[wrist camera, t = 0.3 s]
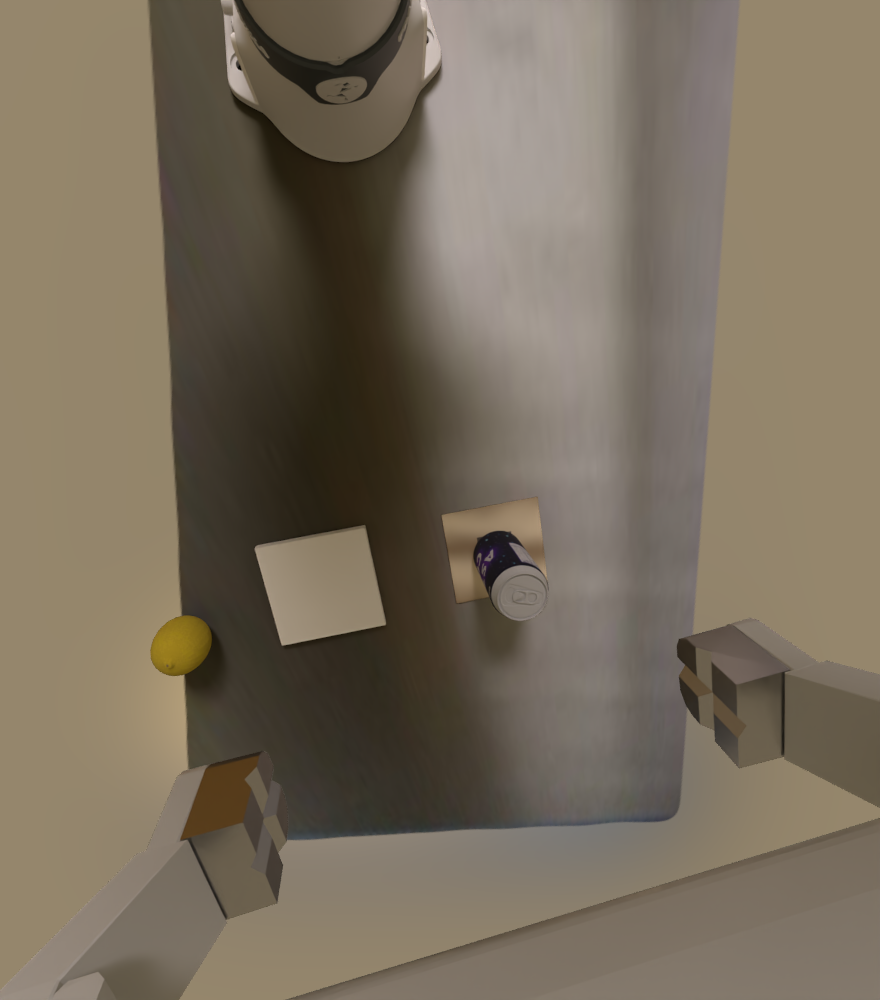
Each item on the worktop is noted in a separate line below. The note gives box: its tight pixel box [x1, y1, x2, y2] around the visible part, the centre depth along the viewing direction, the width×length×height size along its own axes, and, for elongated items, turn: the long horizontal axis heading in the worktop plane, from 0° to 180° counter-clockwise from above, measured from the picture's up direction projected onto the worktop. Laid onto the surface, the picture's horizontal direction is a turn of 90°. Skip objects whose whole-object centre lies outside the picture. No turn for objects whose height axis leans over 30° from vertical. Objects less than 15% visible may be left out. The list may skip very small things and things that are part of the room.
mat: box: [255, 525, 386, 646], centre depth 60 cm, size 12×12×1 cm
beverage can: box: [473, 531, 548, 621], centre depth 55 cm, size 6×6×12 cm
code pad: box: [442, 497, 547, 603], centre depth 61 cm, size 11×11×1 cm
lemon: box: [151, 616, 212, 676], centre depth 56 cm, size 6×6×8 cm
